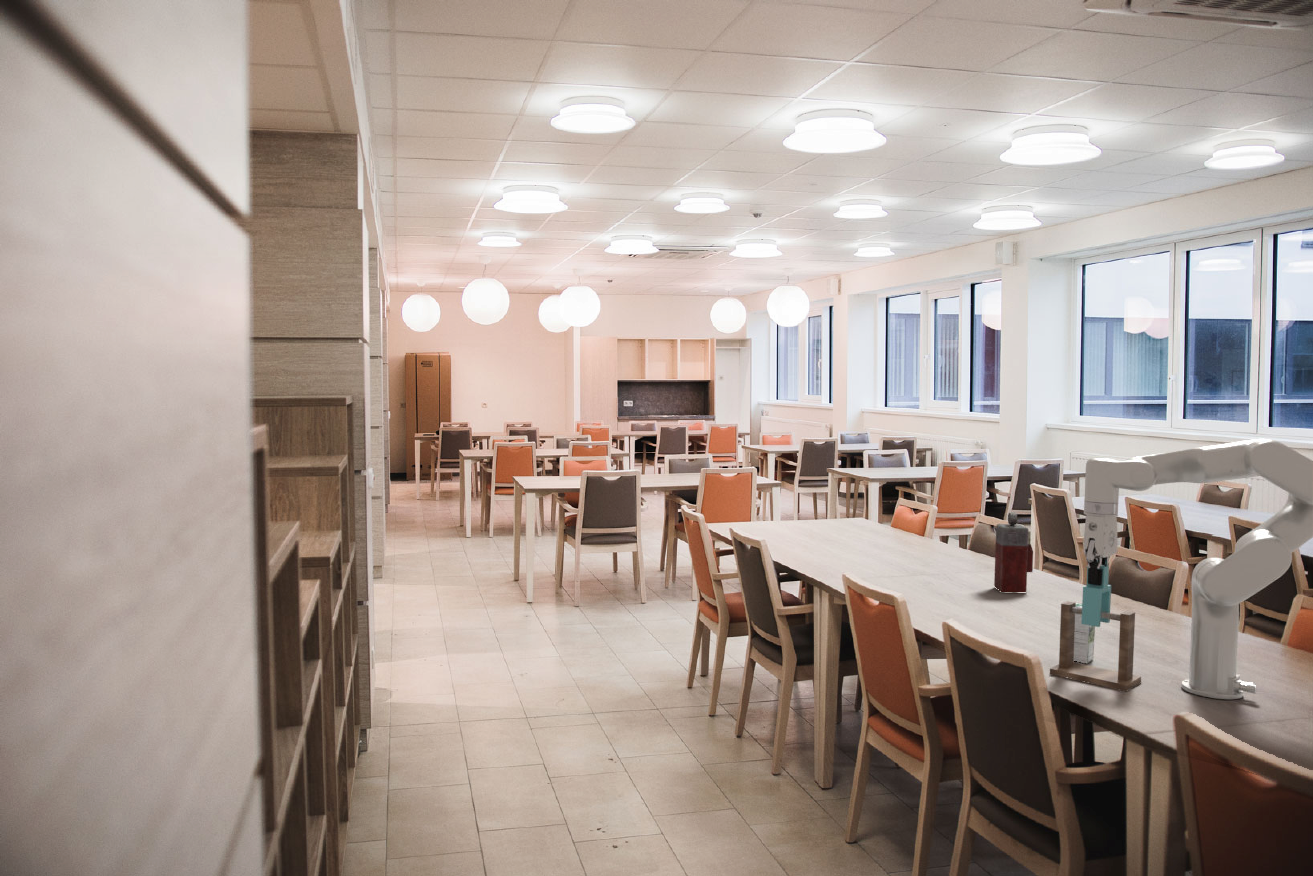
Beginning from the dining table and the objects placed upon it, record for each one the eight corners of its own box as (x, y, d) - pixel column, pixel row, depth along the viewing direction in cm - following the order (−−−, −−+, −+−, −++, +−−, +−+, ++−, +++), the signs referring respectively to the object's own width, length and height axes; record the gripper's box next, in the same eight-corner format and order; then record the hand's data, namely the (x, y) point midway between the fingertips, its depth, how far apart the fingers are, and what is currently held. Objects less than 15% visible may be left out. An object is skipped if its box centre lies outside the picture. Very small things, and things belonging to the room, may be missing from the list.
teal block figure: (1109, 622, 232) (1112, 565, 231) (1098, 627, 227) (1101, 568, 226) (1092, 619, 235) (1095, 562, 234) (1081, 624, 229) (1083, 566, 229)
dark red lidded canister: (1033, 594, 331) (1036, 514, 330) (1000, 592, 332) (1003, 513, 331) (1025, 588, 340) (1028, 511, 338) (993, 587, 341) (996, 510, 339)
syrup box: (1070, 655, 252) (1072, 602, 251) (1094, 660, 248) (1096, 605, 247) (1064, 660, 247) (1066, 605, 246) (1088, 664, 243) (1090, 609, 243)
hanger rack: (1140, 682, 228) (1143, 611, 228) (1126, 691, 221) (1129, 617, 221) (1065, 666, 241) (1068, 599, 240) (1049, 674, 234) (1052, 604, 233)
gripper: (1104, 513, 221) (1101, 590, 222) (1129, 508, 232) (1125, 582, 233) (1072, 510, 226) (1068, 585, 227) (1097, 505, 238) (1094, 577, 239)
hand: (1097, 583), depth 230 cm, fingers closed on teal block figure, 3 cm apart
